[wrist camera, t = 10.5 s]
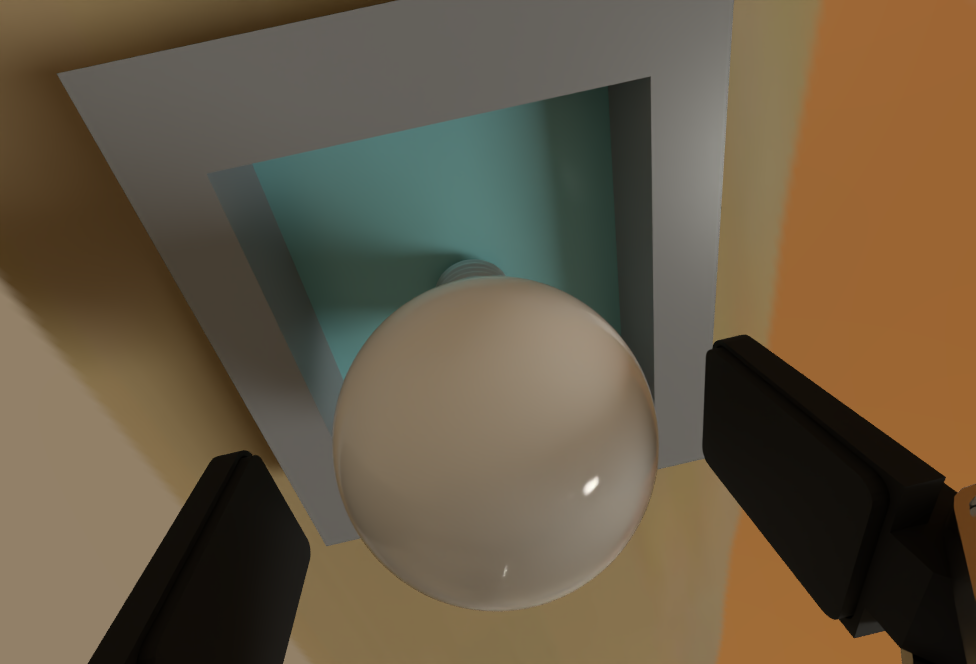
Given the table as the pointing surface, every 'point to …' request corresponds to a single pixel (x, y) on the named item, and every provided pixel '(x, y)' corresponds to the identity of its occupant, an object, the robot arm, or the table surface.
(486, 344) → the lightbulb
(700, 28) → the housing
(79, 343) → the table surface
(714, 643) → the table surface
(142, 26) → the table surface
